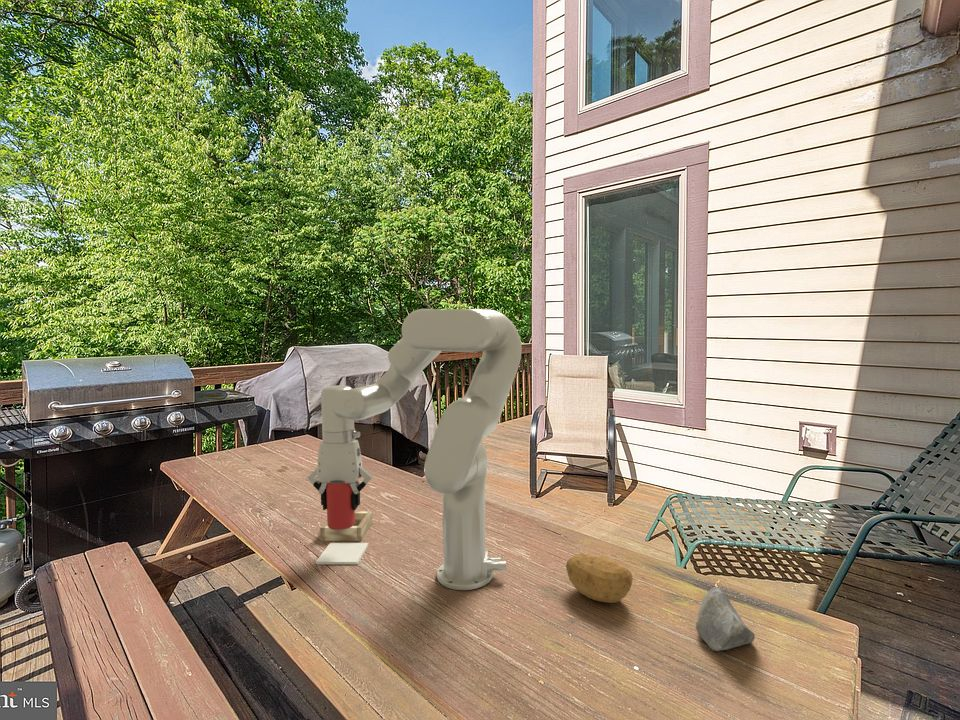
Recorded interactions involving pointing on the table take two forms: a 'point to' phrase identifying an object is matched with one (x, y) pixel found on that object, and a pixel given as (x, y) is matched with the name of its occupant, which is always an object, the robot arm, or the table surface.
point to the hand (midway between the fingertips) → (340, 507)
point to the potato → (599, 577)
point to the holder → (351, 533)
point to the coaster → (342, 553)
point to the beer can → (339, 506)
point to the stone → (721, 623)
